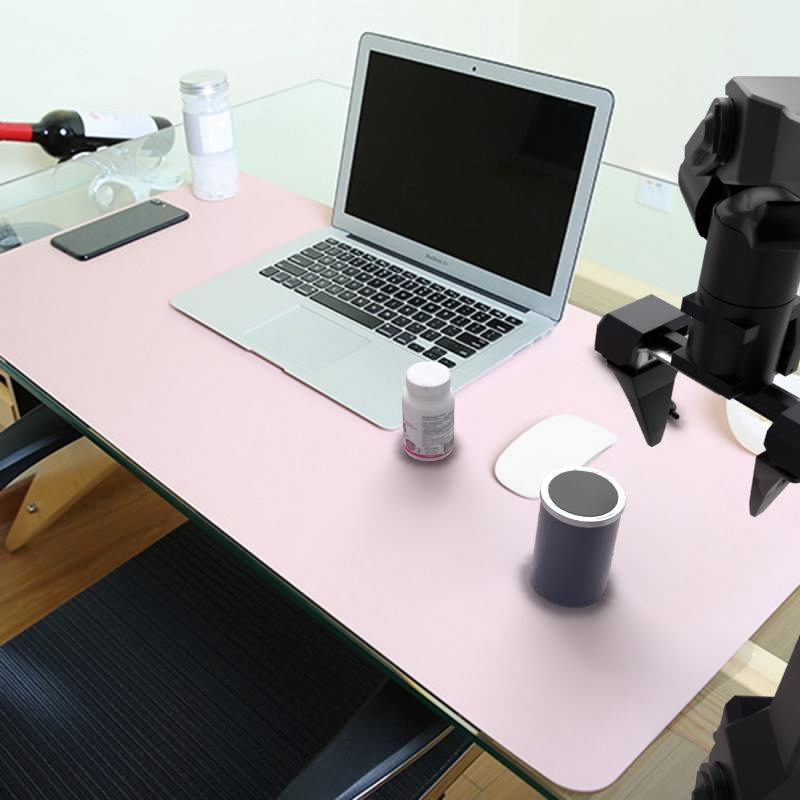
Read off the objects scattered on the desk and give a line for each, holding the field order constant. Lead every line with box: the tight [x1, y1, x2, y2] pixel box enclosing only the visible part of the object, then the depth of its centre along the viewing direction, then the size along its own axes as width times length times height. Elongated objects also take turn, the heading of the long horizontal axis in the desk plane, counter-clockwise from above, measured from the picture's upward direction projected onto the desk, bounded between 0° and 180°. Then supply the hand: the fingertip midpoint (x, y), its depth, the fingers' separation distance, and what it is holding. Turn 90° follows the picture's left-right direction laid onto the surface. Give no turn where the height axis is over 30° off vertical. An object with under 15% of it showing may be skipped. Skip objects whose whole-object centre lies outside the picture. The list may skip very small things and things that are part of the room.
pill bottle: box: [401, 360, 456, 462], centre depth 87 cm, size 5×5×8 cm
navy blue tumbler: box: [529, 466, 627, 608], centre depth 73 cm, size 6×6×9 cm
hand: (703, 477), depth 67 cm, fingers open, 9 cm apart
